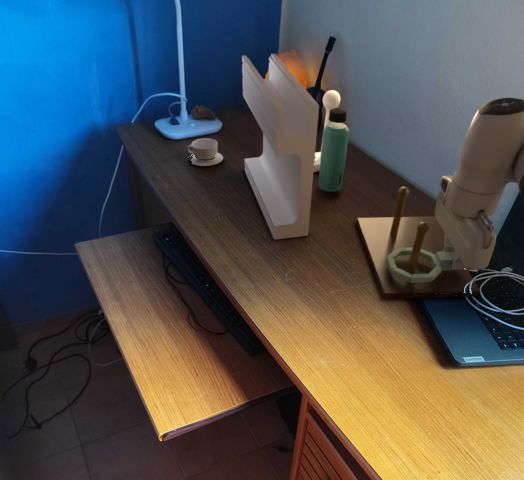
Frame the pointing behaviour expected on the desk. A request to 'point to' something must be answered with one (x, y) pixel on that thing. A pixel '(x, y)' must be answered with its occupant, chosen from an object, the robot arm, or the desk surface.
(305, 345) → the desk surface
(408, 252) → the hanging tag
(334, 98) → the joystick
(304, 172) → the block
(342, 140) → the beverage bottle
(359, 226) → the peg rack
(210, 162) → the teacup
